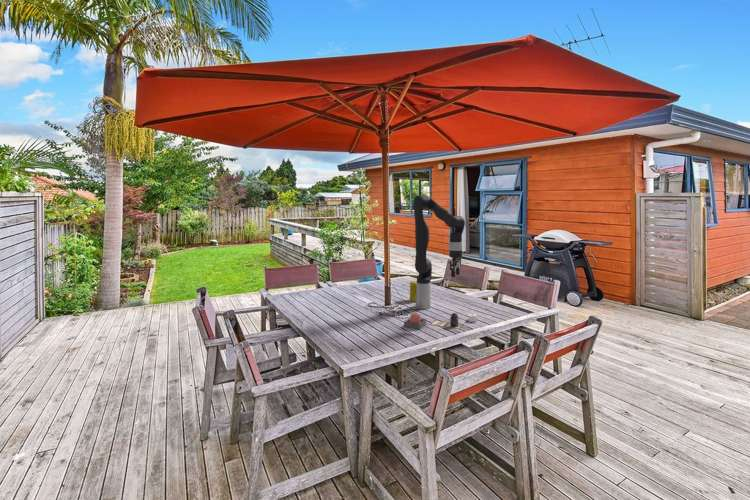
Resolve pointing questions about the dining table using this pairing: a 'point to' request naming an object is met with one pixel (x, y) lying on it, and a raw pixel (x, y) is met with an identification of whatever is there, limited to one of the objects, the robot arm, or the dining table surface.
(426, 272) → the robot arm
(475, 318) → the die
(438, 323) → the board
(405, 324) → the dome collar
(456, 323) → the pawn
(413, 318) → the dome
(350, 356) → the dining table surface
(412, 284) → the food
